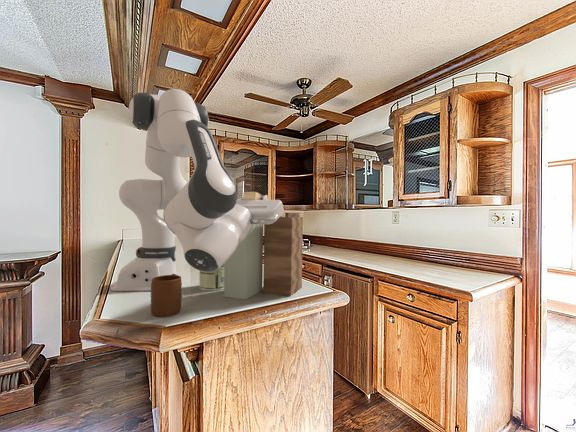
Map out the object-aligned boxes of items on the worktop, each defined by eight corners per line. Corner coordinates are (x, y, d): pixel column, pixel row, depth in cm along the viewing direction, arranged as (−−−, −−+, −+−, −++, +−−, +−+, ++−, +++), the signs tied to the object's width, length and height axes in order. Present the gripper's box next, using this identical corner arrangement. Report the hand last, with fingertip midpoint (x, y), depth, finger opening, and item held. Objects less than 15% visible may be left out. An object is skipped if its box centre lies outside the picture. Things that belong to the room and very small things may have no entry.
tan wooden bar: (255, 202, 76) (256, 191, 77) (242, 202, 78) (243, 192, 79) (283, 217, 95) (283, 208, 95) (272, 216, 96) (273, 208, 97)
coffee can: (205, 283, 108) (205, 246, 108) (231, 284, 107) (232, 247, 107) (193, 290, 98) (194, 250, 98) (222, 291, 97) (223, 250, 97)
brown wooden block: (290, 296, 93) (292, 212, 92) (263, 292, 96) (264, 212, 96) (301, 287, 104) (302, 213, 104) (276, 284, 107) (277, 212, 107)
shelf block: (245, 299, 88) (246, 216, 88) (224, 296, 91) (225, 216, 91) (262, 289, 100) (263, 216, 99) (242, 287, 102) (243, 216, 102)
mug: (162, 303, 84) (162, 271, 84) (188, 302, 85) (188, 271, 84) (146, 318, 72) (146, 281, 72) (176, 317, 73) (177, 280, 73)
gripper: (270, 211, 65) (288, 186, 77) (198, 210, 72) (224, 188, 84) (275, 234, 68) (292, 207, 80) (205, 231, 75) (229, 206, 87)
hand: (256, 197), depth 82 cm, fingers closed on tan wooden bar, 4 cm apart
